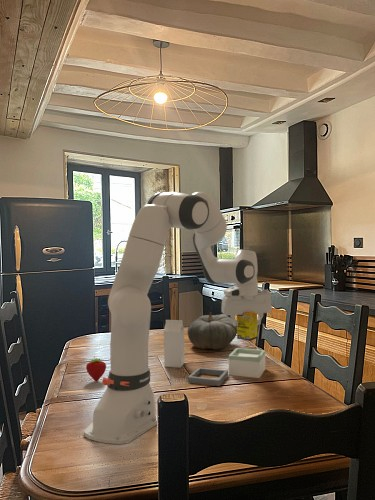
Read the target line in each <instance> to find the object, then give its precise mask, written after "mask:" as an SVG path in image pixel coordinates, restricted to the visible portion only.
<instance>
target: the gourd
mask: <svg viewBox="0 0 375 500" xmlns="http://www.w3.org/2000/svg"><path fill="white" fill-rule="evenodd" d="M187 338H188V339H189V341H190V343H191V344H192V345H193V346H194V347H196V348H198V349H202V350H208V349H211V350H214V351H217V350H218V351H219V350H221V349H222V348H225V347H226V346H228V345H230V344H231V343H232V342H233V340H235V338H237V326H234V325H233V320H232V319H231V317H230V316H229V315H224V314H223V313H221V314H216V315H213V313H212V311H209V314H207V315H206V314H205V315H201V316H199V317H197V318H196V319H195V320H194V321H193V322H192V323H190V324H189V326H188V328H187Z"/></svg>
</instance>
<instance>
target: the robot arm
mask: <svg viewBox="0 0 375 500" xmlns="http://www.w3.org/2000/svg"><path fill="white" fill-rule="evenodd" d="M171 228H174V229H183V230H184V229H186V230H191V231H192V230H193V231H194V234H193V236H192V243H193V246H194V249H195V251H196V254H197V257H198V260H199V262H200V264H201V266H202V271H203V276H204V278H205V280H206V281H207V282H208V283H210V284H212V285H215V284H225V285H227V284H228V285H232V286H230V287H228V288H225V289H224V290H223V295H224V296H222V300H221V307H220V308H221V314H224V315H227V316H229V317H230V318H231V319H232V320H233V325H234V326H238V321H237V319H235V318H237V315H240V314H243V312H255V314H257V326H260V325H261V323H262V319H263V317H264V314H270V313H271V312H272V311H273V309H272V308H273V307H272V300H271V298H272V293H271V291H270V290H268V289H266V288H265V289H259V283H258V279H257V278H258V273H259V272H258V271H259V270H258V269H259V268H258V257H257V253H256V251H254V250H252V249H247V248H241V249H237V250H236V253H235V256H234V257H233V258H221V257H220V258H219V257H217V256H215V255H214V253H213V250H212V247H213V246H215V245H217V244H218V243H220V242H221V241H222V240H223V239H224V237H225V235H226V233H227V229H228V225H227V221H226V219H225V217H224V215H223V213H222V212H221V209H220V207H219V206H218V205H217V203H216V202H215V201H214V199H213V198H212V197H211V196H210V195H209V194H208V193H206V192H204V191H195V192H193V193H192V194H189V193H185V192H184V193H182V192H180V191H160V192H155V193H154V194H152V195H151V196H150V198H149V199H148V201H147V204H145V205H143V206H142V207H141V208H140V209H139V210H138V213H137V214H136V217H135V219H134V220H133V223H132V226H131V228H130V232H129V234H128V238H127V240H126V244H125V248H124V251H123V255H122V257H121V258H122V259H121V262H120V265H119V267H118V269H117V272H116V275H115V278H114V281H113V283H112V286H111V290H110V292H109V294H108V297H107V298H108V299H107V307H108V309H109V311H110V315H111V316H110V317H111V318H110V322H111V323H110V342H109V351H110V352H109V354H110V370H109V372H108V377H103V378H102V380H101V384H102V385H103V386H107V387H106V388H105V391H104V392H103V394H102V396H101V397H100V400H99V401H98V402H97V405H96V406H95V408H94V409H93V417H92V422H90V424H89V425H87V427H86V428H85V429H84V431H83V436H84V437H85V438H87V439H89V440H91V441H94V442H95V441H96V442H99V443H105V444H113V445H114V444H115V445H117V444H118V445H119V444H120V445H122V444H129V443H130V442H132V441H133V440H135V439H136V438H138V437H140V436H141V435H142V434H145V432H147V431H148V430H151V428H153V427H155V426H157V425H158V424H157V416H158V415H157V410H156V409H157V408H156V399H155V392H154V391H153V389H152V386H151V385H150V383H151V370H150V368H149V338H150V328H151V327H150V326H151V313H152V304H151V303H152V302H151V300H150V298H149V296H148V294H149V290H150V288H151V286H152V284H153V282H154V279H155V277H156V275H157V273H158V272H159V271H158V270H159V268H160V264H161V260H162V257H163V254H164V250H165V246H166V243H167V239H168V234H169V231H170V230H171Z"/></svg>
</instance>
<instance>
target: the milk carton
mask: <svg viewBox="0 0 375 500" xmlns="http://www.w3.org/2000/svg"><path fill="white" fill-rule="evenodd" d="M163 348H164V349H163V350H164V351H163V353H164V354H163V355H164V356H163V357H164V358H163V359H164V362H163V363H164V364H163V365H164V367H165V368H182V367H183V365H184V364H185V359H186V358H185V326H184V324H183V320H182V319H181V320H179V319H178V320H177V319H165V325H164V328H163Z"/></svg>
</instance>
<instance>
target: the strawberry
mask: <svg viewBox="0 0 375 500" xmlns="http://www.w3.org/2000/svg"><path fill="white" fill-rule="evenodd" d="M85 367H86V372H87V374H88V375H89V376H90V377H91V379H93V381H95V382H98V381H99V380H100V378H102V377H103V376H104V374H105V372H106V370H107V364H106V362H104V360H101V358H96V355H94V357H93V359H90V361H89V362H88V363H87V364H86V366H85Z"/></svg>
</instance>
